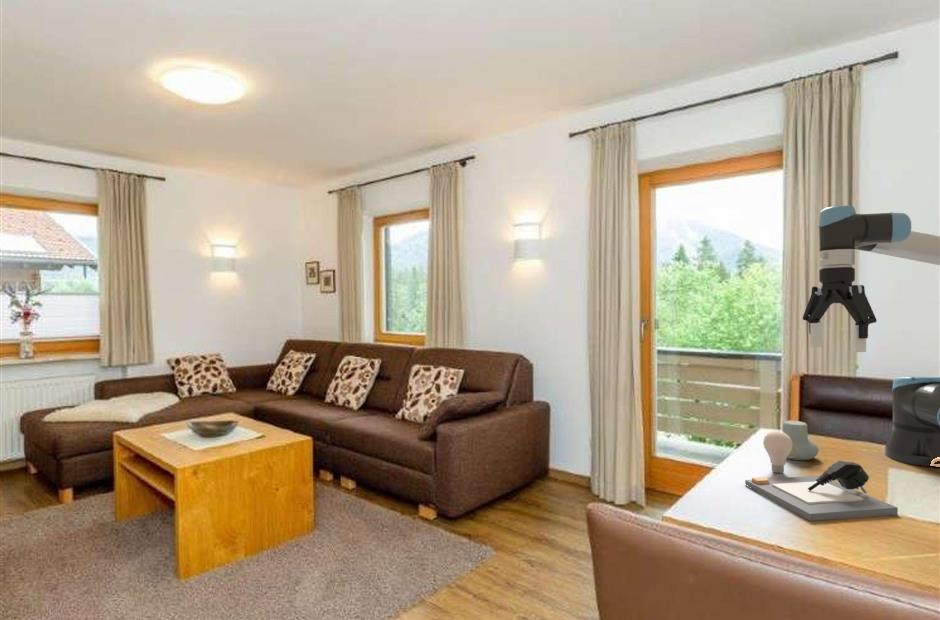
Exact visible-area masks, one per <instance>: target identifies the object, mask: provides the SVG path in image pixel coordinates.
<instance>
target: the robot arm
mask: <svg viewBox="0 0 940 620" xmlns="http://www.w3.org/2000/svg"><path fill="white" fill-rule="evenodd" d="M855 208H856V207H854V206H853V205H835V206H829V207H825V208H823V209H822V210H820V213H819V218H818V230H819V231H818V235H819V236H818V237H819V253H818V254H819V264H818V265H819V267H821V268H819V271H818V273H819V274H818V275H819V277H818V278H819V279H818V280H819V283H820V284H821V283H822V286H812V288H811V293H810V294H811V295H810V297H809V300H808V303H807V305H806V308H805V311H804V313H803V315H802V320H803V321H806V322H807V323H808V324H809V326H808V327H809V328H808V331H809V335H810V345H809V346H810V348H822V347H823V345H822V343H823V342H822V335H823V333H822V329H823V328H822V327H823V326H822V322H821V319H822V317H824V316H825V313H826V312H827V311H828V310H829V308H830V306H831V305H833V304H840V305H843V307H844V308H845V309H846V311H847V312H848V314H849V315H850V317H852V319H853V321H854V325H853V352H854V353H866V352H867V339H868V338H869V326H870V324H871V325H872V324H876V323H877V318H876V315H875V313H874V310H873V309H872V307H871V304H870V302H869V299H868V297H867V295H866V291H865V285H863V284H855V285H854V284H853V282H855V281H856V268H855V267H854V265H856V252H855V251H856V250H857V251H861V252H870V253H875V254H880V255H884V256H889V257H895V258H901V259H906V260H910V261H916V262H922V263H925V264H926V263H927V264H932V265H937V266H940V235H935V234H929V233H925V232H919V231H914V230H912V220H911V218H910V216H909V215H908V214H907V213H904V212H893V211H891V212H882V213H881V212H880V213H878V212H876V213H857V212H856V209H855ZM891 391H892V429H891V431H890V434H889V437H888V439H887V442H886V444H885V446H884V455H885V457H887V458H889V459H890V460H893V461H897V462H900V463H905V464H909V465H914V466H919V465H921V467H926V466H930V464H931V461H932V460H933V459H935V458H937V457H940V376H897V377H895V378H894V379H893V381H892V388H891ZM934 464H940V461H937V462H935V463H934Z"/></svg>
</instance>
